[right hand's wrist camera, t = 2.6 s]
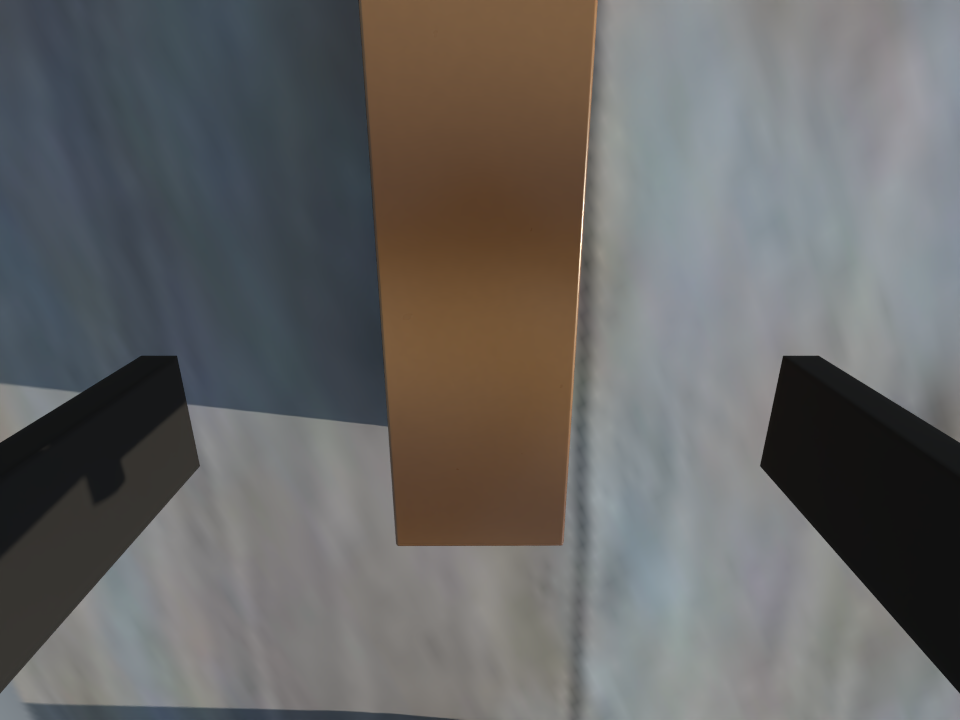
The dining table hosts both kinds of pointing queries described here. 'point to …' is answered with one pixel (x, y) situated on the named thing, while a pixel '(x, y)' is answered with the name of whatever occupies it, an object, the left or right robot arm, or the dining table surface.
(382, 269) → the post
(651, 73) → the dining table surface
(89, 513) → the right robot arm
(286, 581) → the dining table surface
